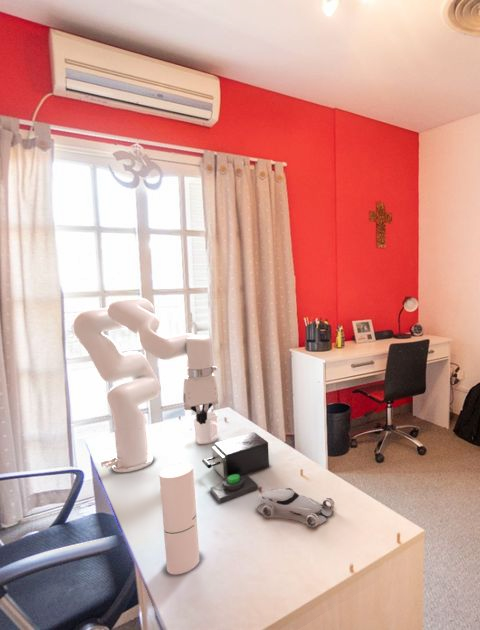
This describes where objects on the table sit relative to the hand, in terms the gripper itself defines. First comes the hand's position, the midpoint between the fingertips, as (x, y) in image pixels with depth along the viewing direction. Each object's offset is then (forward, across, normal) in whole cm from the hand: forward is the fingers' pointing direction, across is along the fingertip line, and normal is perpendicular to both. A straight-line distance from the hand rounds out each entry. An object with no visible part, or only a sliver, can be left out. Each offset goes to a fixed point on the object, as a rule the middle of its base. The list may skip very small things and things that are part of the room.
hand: (201, 422), depth 145 cm
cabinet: (+19, -12, +4) cm, 23 cm away
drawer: (+18, -8, +4) cm, 21 cm away
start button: (+16, -4, +18) cm, 24 cm away
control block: (+19, -4, +18) cm, 26 cm away
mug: (+20, -10, -28) cm, 36 cm away
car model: (+18, -14, +42) cm, 48 cm away
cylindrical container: (+19, +17, +44) cm, 51 cm away
